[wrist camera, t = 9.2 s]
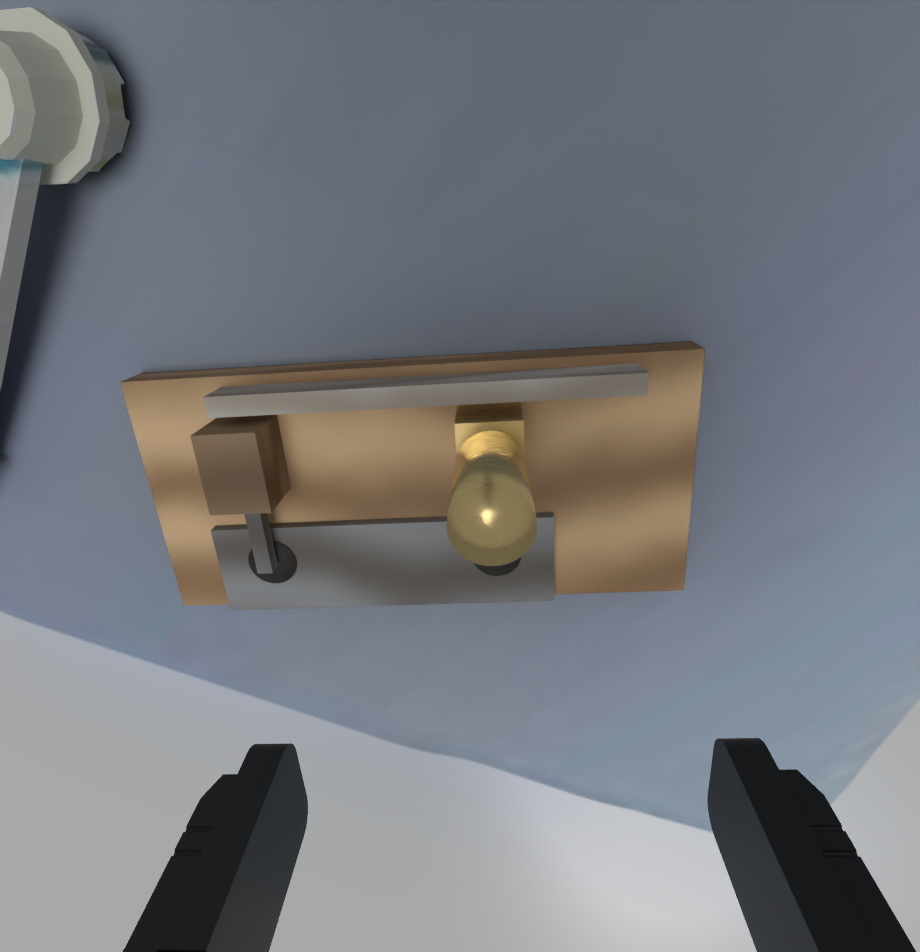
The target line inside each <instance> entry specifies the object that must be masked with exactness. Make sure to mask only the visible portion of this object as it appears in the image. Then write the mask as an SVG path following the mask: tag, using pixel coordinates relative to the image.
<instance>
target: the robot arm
mask: <svg viewBox="0 0 920 952" xmlns="http://www.w3.org/2000/svg"><path fill="white" fill-rule="evenodd" d="M708 811H709V817H710V822H711V827H712V830H713V833H714V836H715V839H716V842H717V844H718V847H719V850H720V853H721V855H722V858H723V860H724V863H725V866H726V869H727V871H728V874H729V877H730V879H731V882H732V885H733V888H734V890H735V893H736V896H737V899H738V901H739V904H740V907H741V909H742V912H743V915H744V917H745V920H746V923H747V925H748V928H749V931H750V934H751V936H752V939H753V942H754V945H755V947H756V950H757V952H916V951H915V949H914V948H913V946H912V944H911V942H910V940H909V939H908V937H907V936H906V934H905V932H904V930H903V929H902V927H901V925H900V923H899V922H898V920H897V919H896V917H895V915H894V913H893V912H892V910H891V908H890V907H889V905H888V903H887V901H886V900H885V898H884V896H883V895H882V893H881V891H880V890H879V888H878V886H877V885H876V883H875V881H874V879H873V878H872V876H871V875H870V872H869V871H868V869H867V867H866V866H865V864H864V862H863V861H862V859H861V857H858V855H857V852H856V849H855V847H854V846H853V844H852V842H851V840H850V838H849V837H848V835H847V833H846V832H845V831H843V830H842V825H841V823H840V822H839V820H838V818H837V817H836V815H835V813H834V811H833V810H832V808H831V806H830V804H829V803H828V801H827V799H826V798H825V796H824V795H823V794H822V793H821V792H820V791H819V790H818V789H817V788H816V787H815V786H814V785H813V784H812V783H811V782H810V781H808V780H807V779H806V778H805V777H804V776H803V775H802V774H801V773H800V772H799V771H798V770H779V769H778V767H777V765H776V763H775V761H774V759H773V758H772V756H771V754H770V752H769V750H768V748H767V747H766V745H765V743H764V742H763V741H762V740H761V739H759V738H735V739H717V740H716V741H715V744H714V750H713V758H712V766H711V774H710V781H709V789H708ZM307 815H308V802H307V795H306V791H305V787H304V782H303V778H302V774H301V770H300V765H299V761H298V756H297V752H296V749H295V746H294V745H293V744H255V745H253V746H252V747H251V748H250V749H249V751H248V753H247V755H246V757H245V759H244V761H243V763H242V766H241V768H240V770H239V772H238V774H230V775H222V776H221V778H219V779H218V781H217V782H216V783H215V784H214V785H213V786H212V787H211V788H210V789H209V790H208V791H207V792H206V793H205V795H203V797H202V798H201V799H200V801H199V803H198V805H197V807H196V809H195V811H194V813H193V814H192V816H191V819H190V820H189V822H188V824H187V826H186V827H187V828H186V832H184V833H183V834H182V837H181V838H180V840H179V842H178V844H177V846H176V848H175V853H174V856H171V858H170V860H169V862H168V864H167V866H166V868H165V870H164V872H163V874H162V876H161V878H160V880H159V882H158V884H157V886H156V888H155V890H154V892H153V894H152V896H151V898H150V900H149V902H148V904H147V906H146V908H145V910H144V912H143V914H142V916H141V918H140V919H139V921H138V924H137V925H136V927H135V929H134V931H133V933H132V935H131V937H130V939H129V941H128V943H127V945H126V947H125V949H124V950H123V952H269V949H270V945H271V942H272V939H273V936H274V932H275V929H276V926H277V923H278V919H279V916H280V912H281V909H282V906H283V903H284V900H285V896H286V893H287V890H288V886H289V883H290V880H291V877H292V873H293V870H294V867H295V863H296V860H297V857H298V854H299V850H300V847H301V844H302V840H303V837H304V833H305V829H306V824H307Z"/></svg>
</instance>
